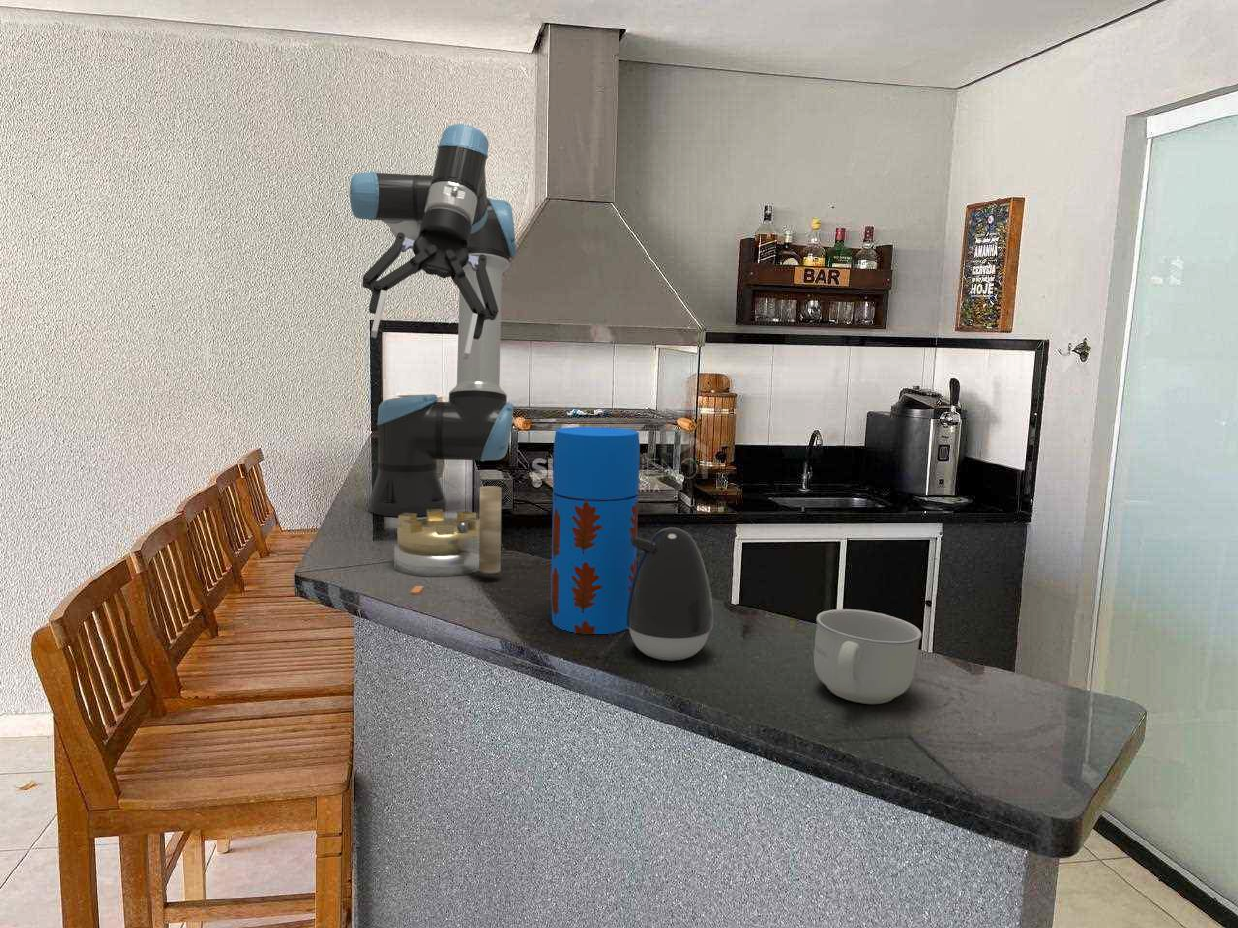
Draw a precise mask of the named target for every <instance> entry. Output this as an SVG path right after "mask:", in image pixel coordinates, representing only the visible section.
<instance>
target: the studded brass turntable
mask: <svg viewBox="0 0 1238 928" xmlns="http://www.w3.org/2000/svg"><path fill="white" fill-rule="evenodd" d="M502 490H503V489H502V487H500V486H497V485H496V486H495V485H489V486H488V485H487V486H480V487H479V517H477V512H473V511H469V510H463V511H457V512H456V518H452V517H444V515H445V514H444V512H445V511H443V510H442V509H427V516H426V518H420V519H418V516H417V514H415V513H403V514H401V515H399V517H398V525H397V533H396V534H397V541H396V543H397V544H396V545H397V546H398V548H399V549H401V550H403V551H407V552H411V553H417V554H430V555H444V554H457V553H464V552H471V553H475V554H479V571H478V572H480V573H484V574H485V573H486V574H495V573H499V572H501V571H502V569H501V564H502V563H501V561H502V560H501V557H502V555H501V554H502V553H501V552H502V550H501V549H502V496H503V495H502V492H503V491H502Z"/></svg>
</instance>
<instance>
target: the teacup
mask: <svg viewBox="0 0 1238 928" xmlns="http://www.w3.org/2000/svg"><path fill="white" fill-rule="evenodd" d="M921 638H922V632H921V630H920V629H919V628H918V627H917V626H916V625H914V624H912V623H911V622H909V621H906V620H903V619H901V618H898V617H895V616H891V615H888V614H886V613H882V612H875V611H870V610H864V609H855V608H854V609H852V608H851V609H850V608H838V609H837V608H836V609H828V610H824V611H822V612H820V613H818V614H817V616H816V629H815V638H814V639H815V640H814V649H813V665H814V670H815V673H816V675H817V677H818V679H819V680H820V681H821V682H822V683H823V684H824V685H825V686H826V688H827V689H828V690H829V691H830V692H831V694H833V695H835V696H837V697H839V698H841V699H844V700H847V701H850V702H854V703H858V704H859V703H860V704H866V705H881V704H885V703H888V702H891V701H892V700H894V699H895V698H897V697H899V696H901V695H903V694H904V693H905V692H906V691H907V690H908V689H909V687H910V686H911V684H912V681H913V679H914V675H915V670H916V664H917V658H918V652H919V645H920V640H921Z"/></svg>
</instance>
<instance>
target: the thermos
mask: <svg viewBox="0 0 1238 928" xmlns="http://www.w3.org/2000/svg"><path fill="white" fill-rule="evenodd" d="M640 449H641V444H640V433H639V432H638V431H637V430H634V429H629V428H628V429H627V428H622V427H621V428H618V427H603V426H571V427H562V428H558V429H556V430H555V436H554V442H553V471H552V472H553V474H552V475H553V476H552V477H553V478H552V479H553V481H552V491H553V492H552V525H551V526H552V532H551V534H552V535H551V579H550V580H551V583H550V585H551V586H550V587H551V589H550V597H551V599H550V601H551V622H552V621H553V622H552V625H553V626H554V625H555V626H557V627H558V628H560V629H562V630H561V631H563V630H566V631H569V632H574V633H573V634H575V633H585V634H608V635H610V634H609V633H614V634H616V633H615V632H619V631H623V630H625V629H626V628H628V626H627V623H626V616H627V607H628V601H629V595H630V590H631V586H632V582H633V579H634V575H635V572H636V569H637V549H638V548H636V547H634V546H632V545H631V540H632V538H633V537H637V538H638V515H639V514H638V513H639V487H640V486H639V485H640V484H639V483H640V480H639V479H640V457H641V456H640V454H641V452H640V451H641V450H640ZM555 626H554V627H555ZM558 628H557V629H558ZM560 629H559V630H560ZM566 631H565V632H566ZM625 631H626V630H625ZM569 632H568V633H569ZM623 632H624V631H623ZM619 633H620V632H619Z"/></svg>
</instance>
